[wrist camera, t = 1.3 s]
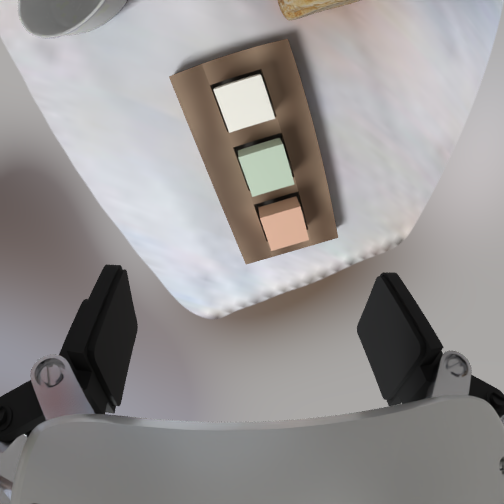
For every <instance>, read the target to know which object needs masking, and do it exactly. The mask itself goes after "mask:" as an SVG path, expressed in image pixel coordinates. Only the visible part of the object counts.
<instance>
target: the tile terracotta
mask: <svg viewBox="0 0 504 504" xmlns="http://www.w3.org/2000/svg"><path fill="white" fill-rule="evenodd" d="M258 209H259V215H260V220H261V223H262V225H263V228H264V231H265V234H266V237H267V240H268V243H269V246H270V248H271V251H273V250H277V249H280V248H283V247H287V246H290V245H294V244H297V243H301V242H304V241H307V240H309V237H308V233H307V229H306V225H305V222H304V218H303V214H302V210H301V206H300V204H299V202H298V199H297V197H296V196H295V197H292V198H288V199H285V200H282V201H278V202H275V203H272V204H268V205H265V206H262V207H258Z"/></svg>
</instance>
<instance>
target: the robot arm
mask: <svg viewBox="0 0 504 504" xmlns="http://www.w3.org/2000/svg"><path fill="white" fill-rule="evenodd" d="M357 333H358V335H359V338H360V340H361V343H362V345H363V348H364V350H365V353H366V355H367V357H368V360H369V363H370V365H371V368H372V370H373V372H374V375H375V378H376V381H377V383H378V386H379V388H380V391H381V394H382V396H383V398H384V399H385V400H387V402H388V405H389V407H384V408H379V409H374V410H368V411H362V412H356V413H349V414H342V415H335V416H327V417H318V418H308V419H297V420H284V421H268V422H266V421H265V422H192V421H175V420H159V419H147V418H136V417H128V416H116V415H106V414H105V412H109V413H115V408H116V406H120V404H121V400H122V395H123V390H124V386H125V381H126V376H127V372H128V367H129V363H130V359H131V354H132V350H133V346H134V342H135V338H136V334H137V319H136V315H135V311H134V306H133V302H132V296H131V291H130V286H129V281H128V275H127V271H126V270H122V267H121V266H120V265H105V267H104V268H103V270H102V272H101V274H100V276H99V278H98V280H97V282H96V284H95V286H94V288H93V290H92V293H91V295H90V297H89V299H85V300H84V301H83V302H82V304H81V306H80V308H79V310H78V312H77V315H76V317H75V319H74V321H73V323H72V325H71V328H70V330H69V332H68V335H67V337H66V339H65V342H64V344H63V347H62V349H61V352H60V354H59V355H56V354H53V355H47V356H44V357H42V358H40V359H39V360H38V361H37V362H36V363H35V364H34V365H33V367H32V369H31V374H30V377H31V380H30V381H28V382H26V383H24V384H23V385H21V386H19V387H17V388H16V389H14V390H12V391H10V392H9V393H6V394H5V395H3V396H1V397H0V504H504V394H503V393H502V392H501V391H500V390H498V389H497V388H495V387H493V386H491V385H489V384H487V383H485V382H484V381H482V380H480V379H478V378H476V377H474V376H473V375H471V365H470V363H469V361H468V360H467V359H466V357H465V356H463V355H462V354H460V353H459V352H456V351H447V352H445V353H444V354H443V353H442V351H441V350H442V348H443V346H442V344H441V342H440V340H439V339H438V337H437V336H436V334H435V332H434V330H433V329H432V327H431V325H430V324H429V322H428V320H427V319H426V317H425V316H424V314H423V313H422V311H421V309H420V308H419V306H418V304H417V303H416V301H415V300H414V298H413V297H412V295H411V294H410V292H409V291H408V289H407V288H406V286H405V285H404V283H403V282H402V280H401V279H400V277H399V276H398V274H397V273H382V274H381V275H380V276H379V277H377V279H376V281H375V284H374V286H373V289H372V291H371V294H370V296H369V299H368V301H367V304H366V306H365V309H364V311H363V313H362V316H361V318H360V321H359V323H358V326H357ZM401 402H402V404H401ZM398 404H399V405H398ZM393 405H394V406H393Z"/></svg>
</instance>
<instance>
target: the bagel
mask: <svg viewBox="0 0 504 504" xmlns="http://www.w3.org/2000/svg"><path fill="white" fill-rule="evenodd" d="M357 1H360V0H278V3H279V6H280V9H281V11H282V13H283V15H284V17H285V18H286V19H287V20H295V19H299V18H302V17H305V16H308V15H311V14H314V13H317V12H321V11H324V10H328V9H332V8H336V7H340V6H343V5H347V4H351V3H354V2H357Z"/></svg>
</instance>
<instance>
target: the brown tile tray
mask: <svg viewBox="0 0 504 504" xmlns="http://www.w3.org/2000/svg"><path fill="white" fill-rule="evenodd" d="M257 74H261V76H262V79H263V82H264V85H265V88H266V91H267V94H268V97H269V101H270V104H271V107H272V110H273V113H274V116H275V119H272V120H269V121H265V122H262V123H259V124H255V125H252V126H249V127H246V128H243V129H240V130H236V131H233V132H230V133H229V131H228V128H227V125H226V122H225V120H224V117H223V114H222V112H221V109H220V106H219V104H218V101H217V98H216V95H215V93H214V88H216V87H218V86H221V85H224V84H227V83H230V82H234V81H237V80H240V79H243V78H246V77H250V76H253V75H257ZM169 78H170V80H171V83H172V85H173V88H174V90H175V93H176V95H177V98H178V100H179V103H180V105H181V108H182V110H183V113H184V115H185V118H186V120H187V123H188V125H189V128H190V130H191V132H192V135H193V137H194V140H195V142H196V145H197V147H198V150H199V152H200V155H201V157H202V159H203V162H204V164H205V167H206V169H207V172H208V174H209V177H210V179H211V181H212V184H213V186H214V189H215V191H216V194H217V196H218V198H219V201H220V203H221V206H222V208H223V210H224V213H225V215H226V218H227V220H228V223H229V225H230V227H231V230H232V232H233V235H234V237H235V239H236V242H237V244H238V247H239V249H240V251H241V254H242V256H243V258H244V261H245V263H246V264H249V263H253V262H256V261H260V260H263V259H267V258H270V257H273V256H277V255H280V254H284V253H287V252H291V251H294V250H298V249H301V248H304V247H308V246H311V245H315V244H318V243H322V242H325V241H328V240H332V239H335V238H338V234H337V229H336V223H335V218H334V213H333V208H332V203H331V198H330V193H329V188H328V184H327V179H326V175H325V170H324V166H323V161H322V157H321V153H320V149H319V145H318V141H317V137H316V133H315V129H314V125H313V121H312V117H311V114H310V110H309V106H308V103H307V99H306V96H305V92H304V89H303V85H302V82H301V79H300V75H299V72H298V69H297V66H296V62H295V59H294V56H293V53H292V50H291V47H290V44H289V41H288V39H284V40H280V41H276V42H272V43H268V44H264V45H260V46H256V47H253V48H249V49H246V50H242V51H239V52H236V53H233V54H229V55H226V56H223V57H220V58H217V59H214V60H211V61H208V62H206V63H203V64H200V65H197V66H195V67H192V68H189V69H187V70H184V71H182V72H179V73H177V74H174V75H172V76H170V77H169ZM277 138H280V140H281V141H282V143H283V146H284V149H285V153H286V156H287V159H288V163H289V166H290V170H291V173H292V177H293V181H294V185H291V186H287V187H284V188H280V189H277V190H274V191H270V192H267V193H264V194H260V195H257V196H254V197H252V194H251V191H250V189H249V186H248V183H247V180H246V177H245V175H244V172H243V169H242V166H241V164H240V161H239V158H238V150H241V149H244V148H247V147H250V146H253V145H257V144H260V143H263V142H266V141H270V140H273V139H277ZM295 196H296V197H297V199H298V202H299V204H300V206H301V210H302V214H303V218H304V222H305V225H306V229H307V233H308V237H309V240H307V241H304V242H301V243H297V244H294V245H290V246H287V247H283V248H280V249H277V250H273V251H271V248H270V246H269V243H268V240H267V237H266V234H265V231H264V228H263V225H262V223H261V220H260V215H259V209H258V207H262V206H265V205H268V204H272V203H275V202H278V201H282V200H285V199H288V198H292V197H295Z"/></svg>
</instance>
